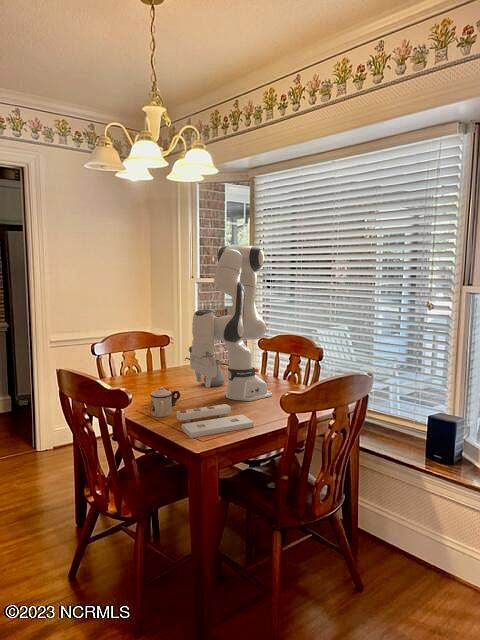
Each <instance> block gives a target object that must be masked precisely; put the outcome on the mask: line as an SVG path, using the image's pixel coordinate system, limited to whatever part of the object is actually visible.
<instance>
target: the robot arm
mask: <svg viewBox="0 0 480 640" xmlns="http://www.w3.org/2000/svg"><path fill="white" fill-rule="evenodd" d="M264 261H265V251H264V250H263V248H262V247H260V246H257V245H248V244H246V245H245V244H242V245H241V244H240V245H225V246H222V247H221V248H220V249H219V250H218V252H217V265H216V269H215V272H214V277H213V283H214V284H215V286H216V288H217V289H218V290H219V291H220V292H222V293H223V294H225V295H227V296H230V297H231V302H232V306H231V307H232V308H231V314H227V315H226V314H225V315H222V316H216V315H215V314H214V313H213V311H212V310H210V309H200V310H196V311H195V312H194V313H193V317H192V329H191V330H192V331H191V332H192V337H193V339H192V343H191V346H189V347H188V352H189V358H190V360H189V364H190V368H191V369H192V370H193V371H194V374H195V377H196V379H195V380H196V382H197V383H202V379H203V378H202V376H204V377H205V376H206V382H204V386H205V388H210V387H211V386H210V383H211V380H212V378H214V377H216V376H217V365H216V360H217V359H216V358H215V357H214V355H215V341H221V342H223V341H224V343H225V346H226V348H227V352H228V368H227V379H228V380H227V381H228V382H227V383H228V384H227V389H226V394H225V398H227V399H229V400H233V401H235V400H236V401H245V402H251V401H256V400H260V399H266V398H268V397H272V396H273V393H272V391H270V390H268V386H267V383H266V382H265V380H264V379H262V378H261V377H260V376H259V375H257V374H258V373H259V372H260V369H259V368H256V367H253V351H252V350H251V349H250V348H249V347H248V346H246V344H245V342H244V340H250V341H253V340H254V341H255V340H260V339H262V338H263V337H264V336H265V334H266V332H267V326H266V322H265V320H264V319H263V318H262V316H260V315H259V313H258V309H257V306H256V295H257V294H256V293H257V283H258V280H257V279H258V278H257V276H258V275H257V274H258V273H257V272H258V271H259V270H260V269H261V268H262V266H263V265H264ZM256 373H257V374H256Z"/></svg>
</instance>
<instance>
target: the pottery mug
mask: <svg viewBox="0 0 480 640" xmlns="http://www.w3.org/2000/svg"><path fill="white" fill-rule="evenodd" d="M166 390H168V391H170V388H166ZM170 392H171V393H172V395H171V402H172V407H174V406H175V405H176V403H177V402H178V400H179V399H180V397H181V393H180V391H179V390H173V391H170ZM175 395H177V396H176V397H175Z"/></svg>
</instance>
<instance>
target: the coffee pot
mask: <svg viewBox="0 0 480 640" xmlns="http://www.w3.org/2000/svg"><path fill="white" fill-rule="evenodd" d="M186 360H188V361H190V357H187V356H186V357H185V358H184V361H186ZM220 363H221V359H216V365H217V376H216V377H214V378H212V380H211V383H210V387H219V386H222V384H224V383H225V382H226V377H225V375H224V373H223V370H222V367H221V366H220ZM203 382H204V383H205V382H206V376H204V377H203Z"/></svg>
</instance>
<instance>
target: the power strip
mask: <svg viewBox="0 0 480 640" xmlns="http://www.w3.org/2000/svg"><path fill="white" fill-rule="evenodd" d="M231 410H232V407H231V406H230V405H229V404H227V403H225V404H224V403H223V404H217V405H211V406H203V407H197V408H190V409H180V410H176V413H175V414H176V419H177V420H179V421H184V422H185V424H186V423H192V422H191V421H192V420H191V419H199V418H205V417H212V416H216V418H223V415H224V414H230V413H231V412H232V411H231Z"/></svg>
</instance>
